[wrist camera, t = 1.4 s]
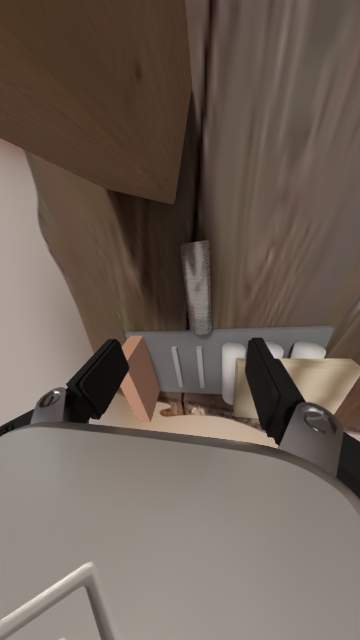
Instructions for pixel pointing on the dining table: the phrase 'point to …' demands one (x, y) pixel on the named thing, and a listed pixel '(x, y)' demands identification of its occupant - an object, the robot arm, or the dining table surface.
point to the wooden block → (99, 89)
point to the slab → (303, 383)
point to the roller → (197, 285)
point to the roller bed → (204, 360)
